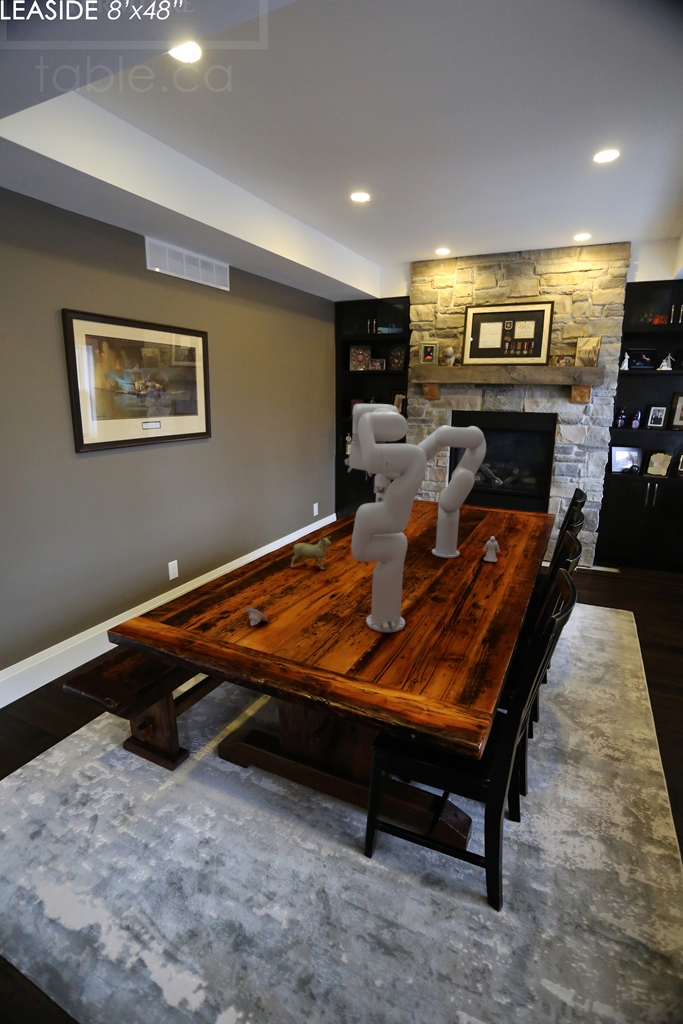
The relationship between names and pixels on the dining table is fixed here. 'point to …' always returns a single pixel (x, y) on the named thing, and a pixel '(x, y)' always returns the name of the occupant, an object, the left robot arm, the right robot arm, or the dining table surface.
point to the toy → (311, 551)
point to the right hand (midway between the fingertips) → (380, 526)
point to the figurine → (491, 550)
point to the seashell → (255, 616)
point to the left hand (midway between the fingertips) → (361, 484)
